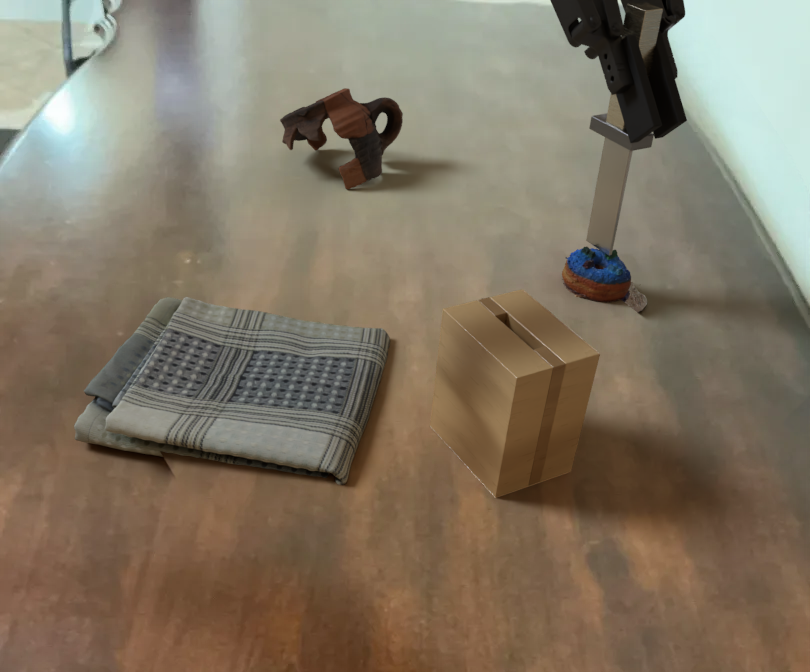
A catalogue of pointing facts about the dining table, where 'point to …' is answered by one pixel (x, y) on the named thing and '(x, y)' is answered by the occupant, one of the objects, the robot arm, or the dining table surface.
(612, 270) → the dessert
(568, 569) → the dining table surface
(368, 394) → the dish towel
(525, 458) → the knife block
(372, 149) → the brown wooden irregular piece
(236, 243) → the dining table surface
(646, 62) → the knife
